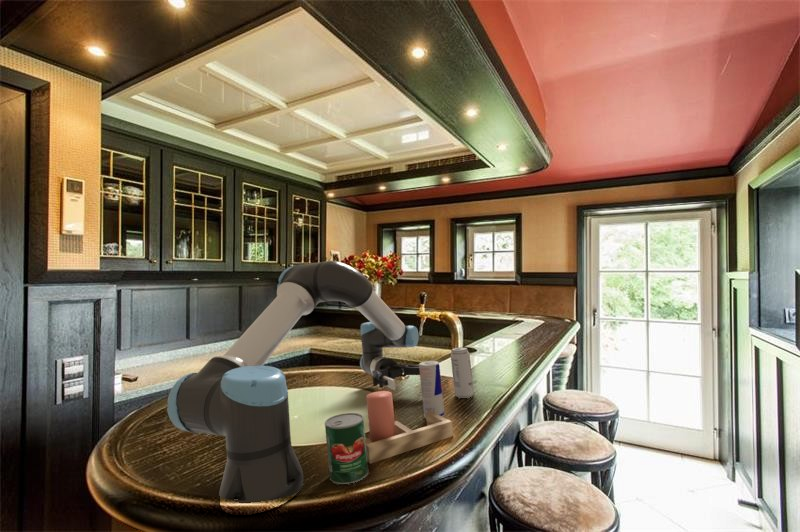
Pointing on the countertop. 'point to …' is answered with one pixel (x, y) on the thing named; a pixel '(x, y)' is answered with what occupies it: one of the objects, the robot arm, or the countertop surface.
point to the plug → (380, 415)
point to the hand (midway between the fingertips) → (414, 379)
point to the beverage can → (431, 387)
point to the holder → (409, 438)
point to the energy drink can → (462, 372)
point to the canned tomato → (346, 448)
